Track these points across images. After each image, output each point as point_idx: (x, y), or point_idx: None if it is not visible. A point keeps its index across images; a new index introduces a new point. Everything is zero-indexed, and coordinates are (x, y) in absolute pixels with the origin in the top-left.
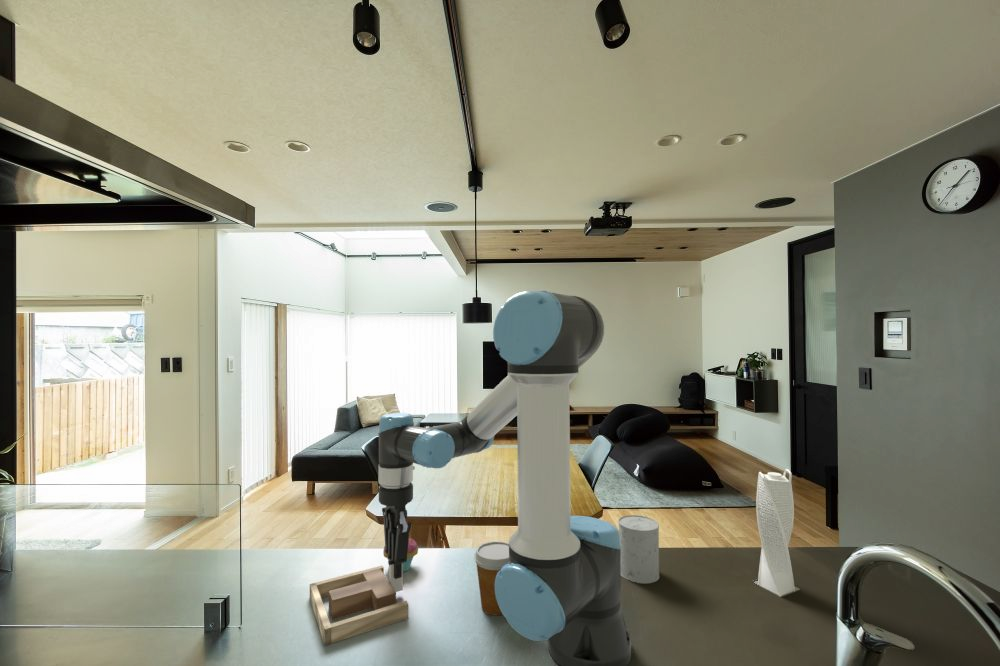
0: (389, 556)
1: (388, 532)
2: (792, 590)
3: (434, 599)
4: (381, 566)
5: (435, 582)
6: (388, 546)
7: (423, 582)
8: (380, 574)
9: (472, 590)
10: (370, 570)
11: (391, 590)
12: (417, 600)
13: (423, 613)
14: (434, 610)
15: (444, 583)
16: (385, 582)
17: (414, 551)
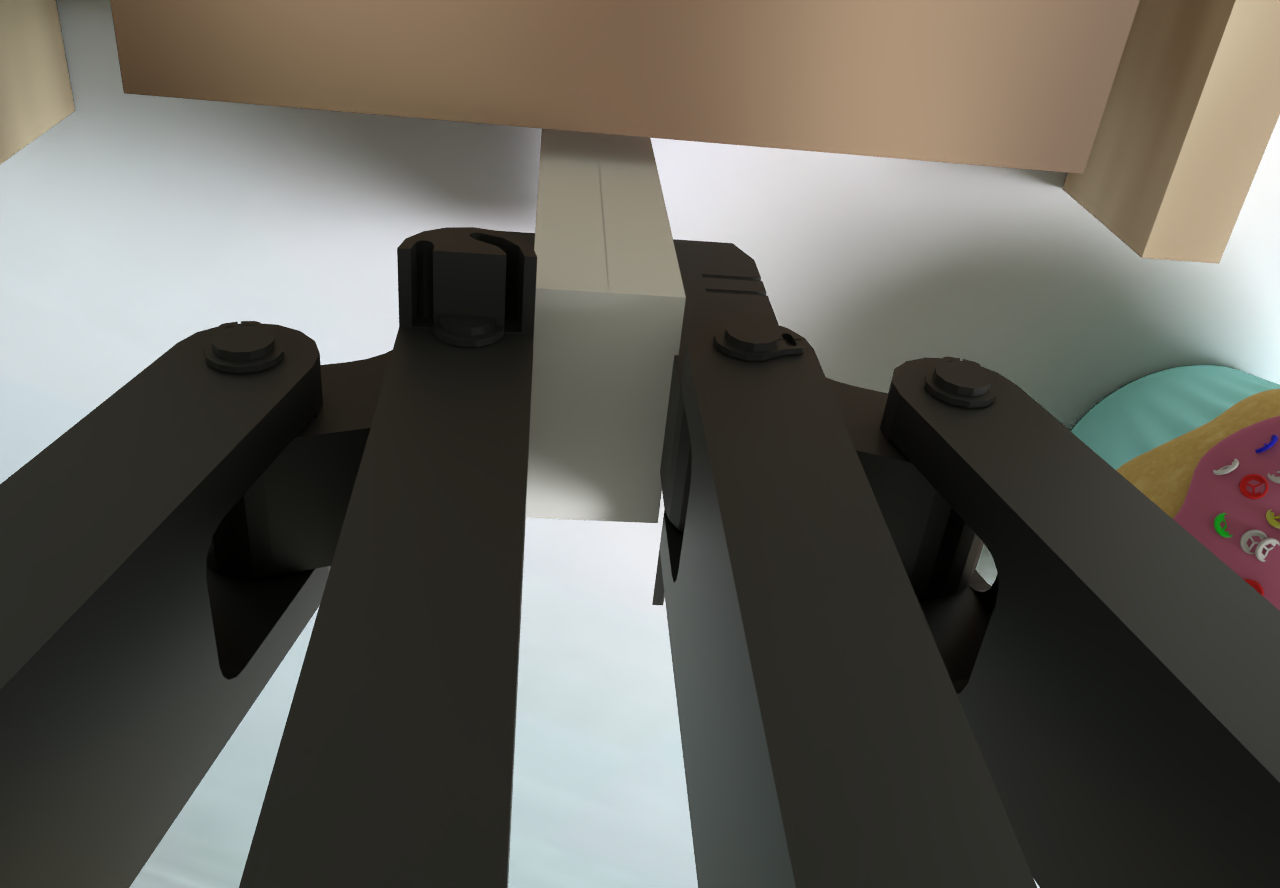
0: (691, 355)
1: (939, 815)
2: None
3: None
4: (1199, 241)
5: (594, 626)
6: (816, 479)
7: None
8: (882, 102)
9: (253, 805)
10: (1237, 39)
11: (239, 55)
12: (348, 350)
13: (37, 299)
14: (51, 418)
15: (520, 680)
16: (565, 71)
17: None
